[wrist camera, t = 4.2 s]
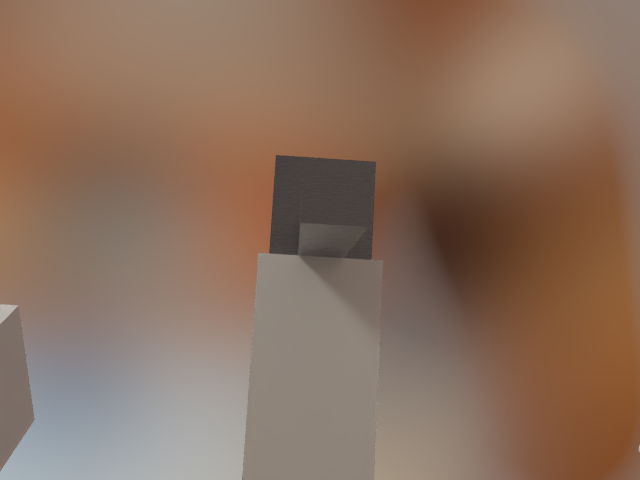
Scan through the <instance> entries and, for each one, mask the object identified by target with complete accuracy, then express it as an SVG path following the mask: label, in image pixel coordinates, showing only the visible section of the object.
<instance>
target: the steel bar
mask: <svg viewBox="0 0 640 480" xmlns="http://www.w3.org/2000/svg"><path fill="white" fill-rule="evenodd" d="M375 167H376V162H369V161H354V160H340V159H325V158H310V157H295V156H280V155H276V164H275V178H274V193H273V207H272V208H273V209H272V223H271V237H270V252H269V254H284V255H300V256H317V257H333V258H350V259H366V260H371V257H372V234H373V212H374V190H375Z"/></svg>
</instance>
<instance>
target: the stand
mask: <svg viewBox="0 0 640 480" xmlns="http://www.w3.org/2000/svg"><path fill="white" fill-rule="evenodd" d="M382 273H383V261H382V260H366V259H350V258H333V257H317V256H300V255H284V254H268V253H259V254H258V265H257V280H256V293H255V307H254V321H253V336H252V350H251V364H250V378H249V392H248V406H247V420H246V435H245V448H244V462H243V476H242V480H374V466H375V465H374V464H375V442H376V418H377V416H376V415H377V393H378V370H379V346H380V322H381V321H380V320H381V296H382Z"/></svg>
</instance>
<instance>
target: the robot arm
mask: <svg viewBox="0 0 640 480" xmlns="http://www.w3.org/2000/svg"><path fill="white" fill-rule="evenodd" d="M33 421H34V413H33V406H32V399H31V391H30V385H29V377H28V371H27V363H26V356H25V349H24V342H23V335H22V327H21V320H20V313H19V306H17V305H1V304H0V471H1V469H2V468H3V466H4V465H5V463H6V462H7V460H8V459H9V457H10V456H11V454H12V453H13V451H14V450H15V448H16V447H17V445H18V444H19V442H20V441H21V439H22V438H23V436H24V435H25V433H26V432H27V430H28V428H29V427H30V426H31V424H32V423H33ZM639 451H640V447H639Z"/></svg>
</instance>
